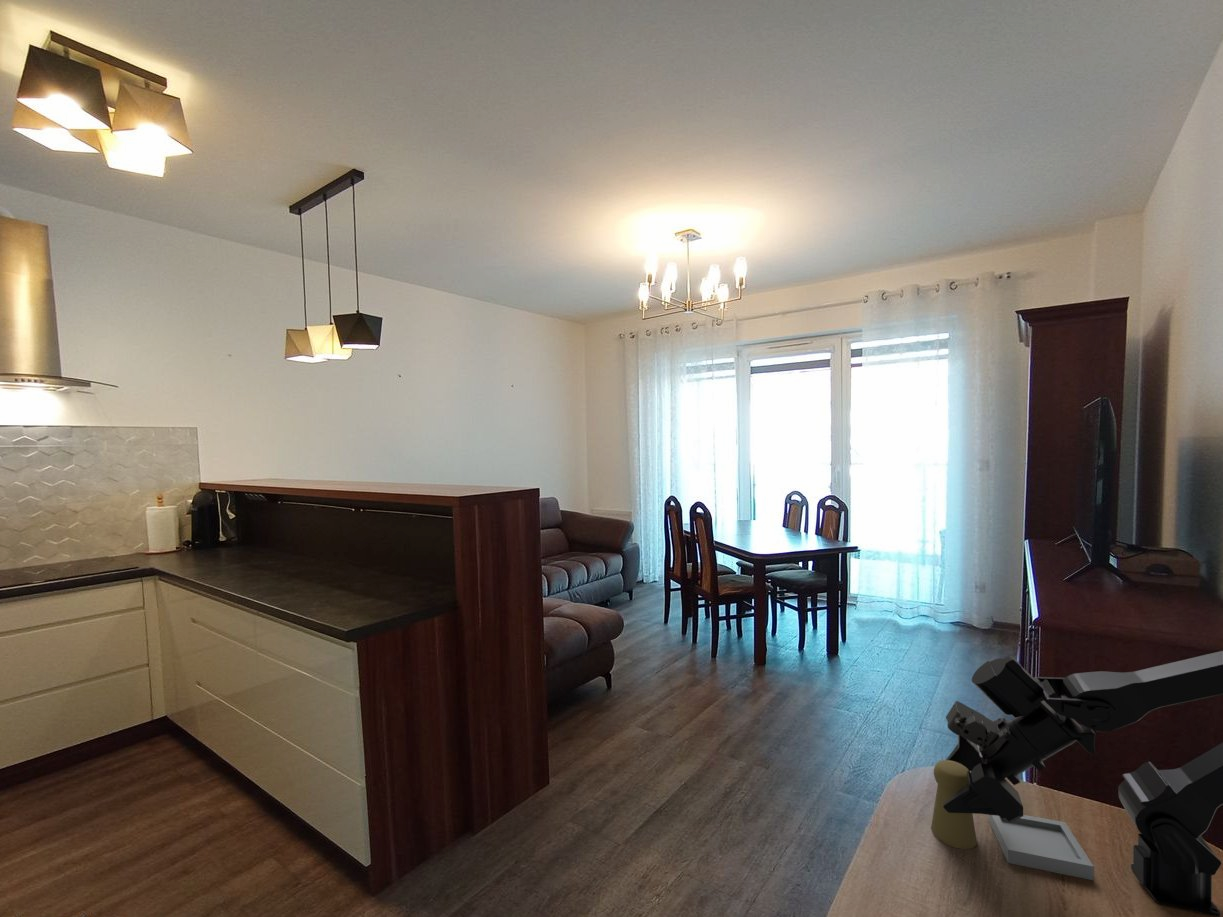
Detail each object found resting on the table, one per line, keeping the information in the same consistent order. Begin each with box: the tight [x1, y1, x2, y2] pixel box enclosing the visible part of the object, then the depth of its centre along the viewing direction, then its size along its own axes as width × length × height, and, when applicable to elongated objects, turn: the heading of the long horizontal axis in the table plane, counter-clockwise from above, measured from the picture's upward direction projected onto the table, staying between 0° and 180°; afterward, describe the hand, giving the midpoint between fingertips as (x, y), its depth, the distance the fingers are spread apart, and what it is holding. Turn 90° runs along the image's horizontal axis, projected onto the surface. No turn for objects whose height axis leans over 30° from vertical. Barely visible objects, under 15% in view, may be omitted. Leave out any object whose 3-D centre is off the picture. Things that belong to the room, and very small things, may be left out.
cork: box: [930, 759, 978, 850], centre depth 84 cm, size 6×6×11 cm
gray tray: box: [988, 814, 1095, 881], centre depth 81 cm, size 10×9×2 cm
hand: (942, 790), depth 85 cm, fingers open, 9 cm apart
